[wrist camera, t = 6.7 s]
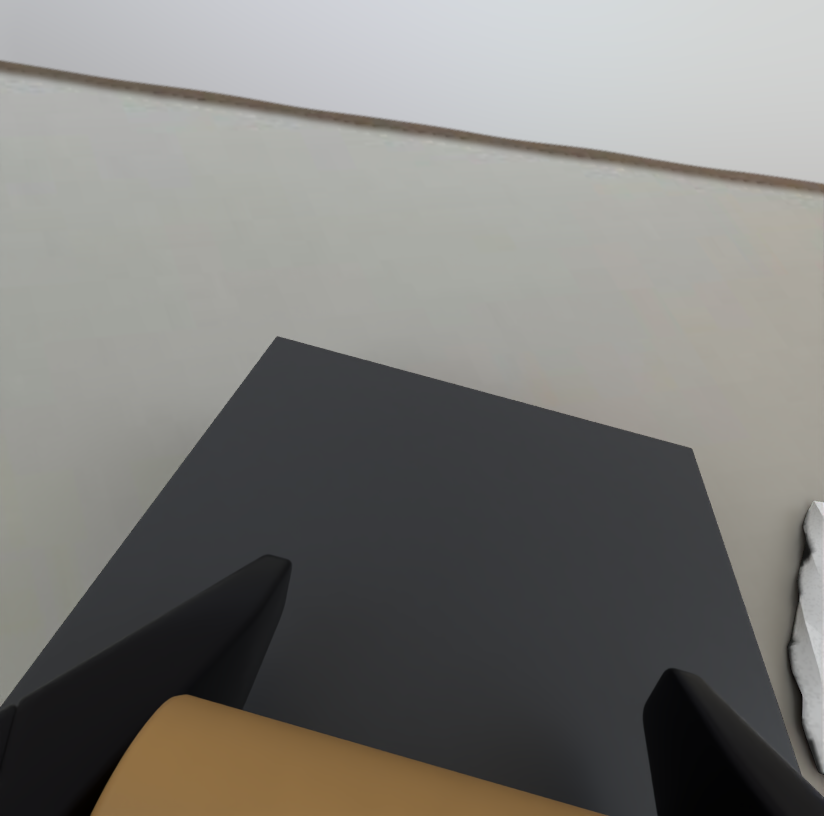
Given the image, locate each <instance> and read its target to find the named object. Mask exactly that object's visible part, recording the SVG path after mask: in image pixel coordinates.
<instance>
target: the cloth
mask: <svg viewBox="0 0 824 816" xmlns="http://www.w3.org/2000/svg"><path fill="white" fill-rule="evenodd" d="M803 528H804V532H805V536H806V539H807V540H806V544H805V549H804V553H803V557H802V561H801V566H800V570H799V575H798V580H797V583H798V590H799V597H800V600H799V603H798V606H797V611H796V616H795V621H794V626H793V631H792V636H791V641H790V643H789V645H788V651H789V657H790V663H791V669H792V672H793V675H794V677H795V679H796V681H797V684H798V686H799V688H800V691H801V693H802V695H803V707H802V726H803V729H804V732H805V735H806V737H807V740H808V743H809V746H810V749H811V752H812V755H813V757H814V760H815V763H816V766H817V769H818V772H819V773H821V774H823V775H824V502H819V501H813V503H812V505H811V506H810V508H809V510H808V511H807V514H806V517H805V520H804V523H803Z"/></svg>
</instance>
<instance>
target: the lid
mask: <svg viewBox="0 0 824 816" xmlns="http://www.w3.org/2000/svg"><path fill="white" fill-rule="evenodd" d="M266 554H271V555H275V556H279V557H282V558H286V559H289V560H290V561H291V562H292V571H291V577H290V582H289V587H288V592H287V597H286V602H285V606H284V610H283V613H282V616H281V618H280V621H279V623H278V626H277V628H276V630H275V633H274V635H273V638H272V640H271V643H270V645H269V647H268V650H267V652H266V655H265V657H264V660H263V662H262V664H261V667H260V669H259V672H258V674H257V676H256V679H255V681H254V684H253V686H252V689H251V691H250V693H249V696H248V698H247V701H246V703H245V705H244V707H243V710H240V709H236V708H233V707H229V706H226V705H222V704H219V703H215V702H212V701H208V700H205V699H201V698H198V697H194V696H191V695H187V694H186V695H179V696H174V697H172V698H170V699H169V700H167V701H166V702H165V703H164V704H162V705H161V706H160V707H159V708H158V709H157V711H156V712H155V713H154V714H153V715H152V716H151V718H150V719H149V720H148V721H147V723H146V724H145V725H144V727H143V728H142V729H141V730H140V732H139V733H138V734H137V736H136V737H135V739H134V740H133V742H132V743H131V744H130V746H129V747H128V749H127V751H126V752H125V754H124V755H123V757H122V758H121V760H120V762H119V763H118V765H117V767H116V768H115V770H114V772H113V773H112V775H111V777H110V779H109V781H108V782H107V784H106V786H105V788H104V790H103V792H102V793H101V795H100V797H99V799H98V801H97V803H96V805H95V807H94V809H93V811H92V813H91V815H90V816H657V811H656V804H655V798H654V792H653V785H652V779H651V772H650V766H649V760H648V753H647V747H646V740H645V734H644V728H643V709H644V705H645V703H646V701H647V699H648V698H649V696H650V694H651V692H652V691H653V689H654V687H655V686H656V684H657V682H658V680H659V679H660V677H661V675H662V674H663V672H664V671H665V670H667V669H668V668H677V669H680V670H684V671H687V672H691V673H694V674H696V675H698V676H700V677H701V678H702V679H703V680H704V681H705V682H707V683H708V684H709V685H710V686H711V687H712V688H713V689H714V690H715V691H716V692H717V693H718V694H719V695H720V696H721V697H722V698H723V699H724V700H725V701H726V702H727V703H728V704H729V705H730V706H731V707H732V708H733V709H734V710H735V711H736V712H737V713H738V714H739V715H740V716H741V717H742V718H743V719H744V720H745V721H746V722H747V723H748V724H749V725H750V726H751V727H752V728H753V729H754V730H755V731H756V732H758V733H759V734H760V735H761V736H762V737H763V738H764V739H765V740H766V741H767V742H768V743H769V744H770V745H771V746H772V747H773V748H774V749H775V750H776V751H777V752H778V753H779V754H780V755H781V756H782V757H783V758H784V759H785V760H786V761H787V762H788V763H789V764H790V765H791V766H792V767H793V768H794V769H795V770H796V771H797V772H798V773H799V774H800V775H801V772H800V769H799V766H798V763H797V760H796V757H795V754H794V751H793V748H792V745H791V742H790V739H789V736H788V733H787V730H786V727H785V724H784V721H783V718H782V715H781V712H780V709H779V706H778V703H777V700H776V697H775V694H774V691H773V688H772V685H771V682H770V679H769V676H768V673H767V670H766V667H765V665H764V662H763V659H762V656H761V653H760V650H759V647H758V644H757V641H756V638H755V635H754V632H753V629H752V626H751V623H750V620H749V617H748V614H747V611H746V608H745V605H744V602H743V599H742V596H741V593H740V590H739V587H738V584H737V581H736V578H735V575H734V572H733V569H732V566H731V563H730V560H729V557H728V554H727V551H726V548H725V545H724V542H723V539H722V536H721V533H720V530H719V527H718V525H717V522H716V519H715V516H714V513H713V510H712V507H711V504H710V501H709V498H708V495H707V492H706V489H705V486H704V483H703V480H702V477H701V474H700V471H699V468H698V465H697V462H696V459H695V456H694V453H693V450H692V449H691V448H688V447H685V446H681V445H677V444H673V443H670V442H666V441H662V440H659V439H655V438H651V437H648V436H644V435H640V434H636V433H633V432H629V431H625V430H622V429H618V428H614V427H611V426H607V425H603V424H600V423H596V422H592V421H588V420H585V419H581V418H577V417H574V416H570V415H566V414H563V413H559V412H555V411H552V410H548V409H544V408H540V407H537V406H533V405H529V404H526V403H522V402H518V401H515V400H511V399H507V398H504V397H500V396H496V395H492V394H489V393H485V392H481V391H478V390H474V389H470V388H467V387H463V386H459V385H456V384H452V383H448V382H444V381H441V380H437V379H433V378H430V377H426V376H422V375H419V374H415V373H411V372H408V371H404V370H400V369H396V368H393V367H389V366H385V365H382V364H378V363H374V362H371V361H367V360H363V359H359V358H356V357H352V356H348V355H345V354H341V353H337V352H334V351H330V350H326V349H323V348H319V347H315V346H311V345H308V344H304V343H300V342H297V341H293V340H289V339H286V338H282V337H276V338H275V340H274V341H273V342H272V344H271V345H270V346H269V348H268V349H267V350H266V352H265V353H264V354H263V356H262V357H261V358H260V360H259V361H258V362H257V364H256V365H255V366H254V368H253V369H252V370H251V372H250V373H249V374H248V376H247V377H246V378H245V380H244V381H243V382H242V384H241V385H240V387H239V388H238V389H237V391H236V392H235V393H234V395H233V396H232V397H231V399H230V400H229V401H228V403H227V404H226V405H225V407H224V408H223V409H222V411H221V412H220V413H219V415H218V416H217V417H216V419H215V420H214V421H213V423H212V424H211V425H210V427H209V428H208V429H207V431H206V432H205V433H204V435H203V436H202V437H201V439H200V440H199V442H198V443H197V444H196V446H195V447H194V448H193V450H192V451H191V452H190V454H189V455H188V456H187V458H186V459H185V460H184V462H183V463H182V464H181V466H180V467H179V468H178V470H177V471H176V472H175V474H174V475H173V476H172V478H171V479H170V480H169V482H168V483H167V484H166V486H165V487H164V488H163V490H162V491H161V492H160V494H159V495H158V496H157V498H156V499H155V501H154V502H153V503H152V505H151V506H150V507H149V509H148V510H147V511H146V513H145V514H144V515H143V517H142V518H141V519H140V521H139V522H138V523H137V525H136V526H135V527H134V529H133V530H132V531H131V533H130V534H129V535H128V537H127V538H126V539H125V541H124V542H123V543H122V545H121V546H120V547H119V549H118V550H117V551H116V553H115V554H114V556H113V557H112V558H111V560H110V561H109V562H108V564H107V565H106V566H105V568H104V569H103V570H102V572H101V573H100V574H99V576H98V577H97V578H96V580H95V581H94V582H93V584H92V585H91V586H90V588H89V589H88V590H87V592H86V593H85V594H84V596H83V597H82V598H81V600H80V601H79V602H78V604H77V605H76V606H75V608H74V609H73V610H72V612H71V613H70V615H69V616H68V617H67V619H66V620H65V621H64V623H63V624H62V625H61V627H60V628H59V629H58V631H57V632H56V633H55V635H54V636H53V637H52V639H51V640H50V641H49V643H48V644H47V645H46V647H45V648H44V649H43V651H42V652H41V653H40V655H39V656H38V657H37V659H36V660H35V661H34V663H33V664H32V665H31V667H30V668H29V670H28V671H27V672H26V674H25V675H24V676H23V678H22V679H21V680H20V682H19V683H18V684H17V686H16V687H15V688H14V690H13V691H12V692H11V694H10V695H9V696H8V698H7V699H6V700H5V702H4V703H3V704H2V706H1V707H0V710H1V709H3V708H5V707H6V706H8V705H10V704H16V705H18V702H19V700H20V699H21V698H22V697H24V696H26V695H27V694H29V693H31V692H32V691H34V690H36V689H37V688H39V687H41V686H43V685H44V684H46V683H48V682H49V681H51V680H53V679H54V678H56V677H58V676H59V675H61V674H63V673H65V672H66V671H68V670H70V669H71V668H73V667H75V666H76V665H78V664H80V663H82V662H83V661H85V660H87V659H88V658H90V657H92V656H93V655H95V654H97V653H98V652H100V651H102V650H104V649H105V648H107V647H109V646H110V645H112V644H114V643H115V642H117V641H119V640H120V639H122V638H124V637H126V636H127V635H129V634H131V633H132V632H134V631H136V630H137V629H139V628H141V627H142V626H144V625H146V624H148V623H149V622H151V621H153V620H154V619H156V618H158V617H159V616H161V615H163V614H164V613H166V612H168V611H170V610H171V609H173V608H175V607H176V606H178V605H180V604H181V603H183V602H185V601H187V600H188V599H190V598H192V597H193V596H195V595H197V594H198V593H200V592H202V591H203V590H205V589H207V588H209V587H210V586H212V585H214V584H215V583H217V582H219V581H220V580H222V579H224V578H225V577H227V576H229V575H231V574H232V573H234V572H236V571H237V570H239V569H241V568H242V567H244V566H246V565H247V564H249V563H251V562H253V561H254V560H256V559H258V558H259V557H261V556H263V555H266ZM801 776H802V775H801Z"/></svg>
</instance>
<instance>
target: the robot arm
mask: <svg viewBox="0 0 824 816" xmlns="http://www.w3.org/2000/svg"><path fill="white" fill-rule="evenodd" d="M291 571H292V562H291V561H290V560H289V559H286V558H282V557H279V556H275V555H271V554H266V555H263V556H261V557H259V558H258V559H256V560H254V561H253V562H251V563H249V564H247V565H246V566H244V567H242V568H241V569H239V570H237V571H236V572H234V573H232V574H231V575H229V576H227V577H225V578H224V579H222V580H220V581H219V582H217V583H215V584H214V585H212V586H210V587H209V588H207V589H205V590H203V591H202V592H200V593H198V594H197V595H195V596H193V597H192V598H190V599H188V600H187V601H185V602H183V603H181V604H180V605H178V606H176V607H175V608H173V609H171V610H170V611H168V612H166V613H164V614H163V615H161V616H159V617H158V618H156V619H154V620H153V621H151V622H149V623H148V624H146V625H144V626H142V627H141V628H139V629H137V630H136V631H134V632H132V633H131V634H129V635H127V636H126V637H124V638H122V639H120V640H119V641H117V642H115V643H114V644H112V645H110V646H109V647H107V648H105V649H104V650H102V651H100V652H98V653H97V654H95V655H93V656H92V657H90V658H88V659H87V660H85V661H83V662H82V663H80V664H78V665H76V666H75V667H73V668H71V669H70V670H68V671H66V672H65V673H63V674H61V675H59V676H58V677H56V678H54V679H53V680H51V681H49V682H48V683H46V684H44V685H43V686H41V687H39V688H37V689H36V690H34V691H32V692H31V693H29V694H27V695H26V696H24V697H22V698H21V699H20V700H19V702H18V705H16V704H10V705H8V706H6V707H5V708H3V709H1V710H0V816H90V815H91V813H92V811H93V809H94V807H95V805H96V803H97V801H98V799H99V797H100V795H101V793H102V792H103V790H104V788H105V786H106V784H107V782H108V781H109V779H110V777H111V775H112V773H113V772H114V770H115V768H116V767H117V765H118V763H119V762H120V760H121V758H122V757H123V755H124V754H125V752H126V751H127V749H128V747H129V746H130V744H131V743H132V742H133V740H134V739H135V737H136V736H137V734H138V733H139V732H140V730H141V729H142V728H143V727H144V725H145V724H146V723H147V721H148V720H149V719H150V718H151V716H152V715H153V714H154V713H155V712H156V711H157V709H158V708H159V707H160V706H161V705H162V704H164V703H165V702H166V701H167V700H169V699H170V698H172V697H174V696H179V695H186V694H187V695H191V696H194V697H198V698H201V699H205V700H208V701H212V702H215V703H219V704H222V705H226V706H229V707H233V708H236V709H240V710H243V707H244V705H245V703H246V701H247V698H248V696H249V693H250V691H251V689H252V686H253V684H254V681H255V679H256V676H257V674H258V672H259V669H260V667H261V664H262V662H263V660H264V657H265V655H266V652H267V650H268V647H269V645H270V643H271V640H272V638H273V635H274V633H275V630H276V628H277V626H278V623H279V621H280V618H281V616H282V613H283V610H284V606H285V602H286V597H287V592H288V587H289V582H290V577H291ZM643 728H644V734H645V740H646V747H647V753H648V760H649V766H650V772H651V779H652V785H653V792H654V798H655V804H656V811H657V816H824V797H823V796H822V795H821V794H820V793H819V792H818V791H817V790H816V789H815V788H814V787H813V786H812V785H811V784H810V783H809V782H808V781H806V780H805V779H804V778H803V777H802V776H801V775H800V774H799V773H798V772H797V771H796V770H795V769H794V768H793V767H792V766H791V765H790V764H789V763H788V762H787V761H786V760H785V759H784V758H783V757H782V756H781V755H780V754H779V753H778V752H777V751H776V750H775V749H774V748H773V747H772V746H771V745H770V744H769V743H768V742H767V741H766V740H765V739H764V738H763V737H762V736H761V735H760V734H759V733H758V732H756V731H755V730H754V729H753V728H752V727H751V726H750V725H749V724H748V723H747V722H746V721H745V720H744V719H743V718H742V717H741V716H740V715H739V714H738V713H737V712H736V711H735V710H734V709H733V708H732V707H731V706H730V705H729V704H728V703H727V702H726V701H725V700H724V699H723V698H722V697H721V696H720V695H719V694H718V693H717V692H716V691H715V690H714V689H713V688H712V687H711V686H710V685H709V684H708V683H707V682H705V681H704V680H703V679H702V678H701V677H700V676H698V675H696V674H694V673H691V672H687V671H684V670H680V669H677V668H668V669H667V670H665V671H664V672H663V674H662V675H661V677H660V679H659V680H658V682H657V684H656V686H655V687H654V689H653V691H652V692H651V694H650V696H649V698H648V699H647V701H646V703H645V705H644V709H643Z"/></svg>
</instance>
